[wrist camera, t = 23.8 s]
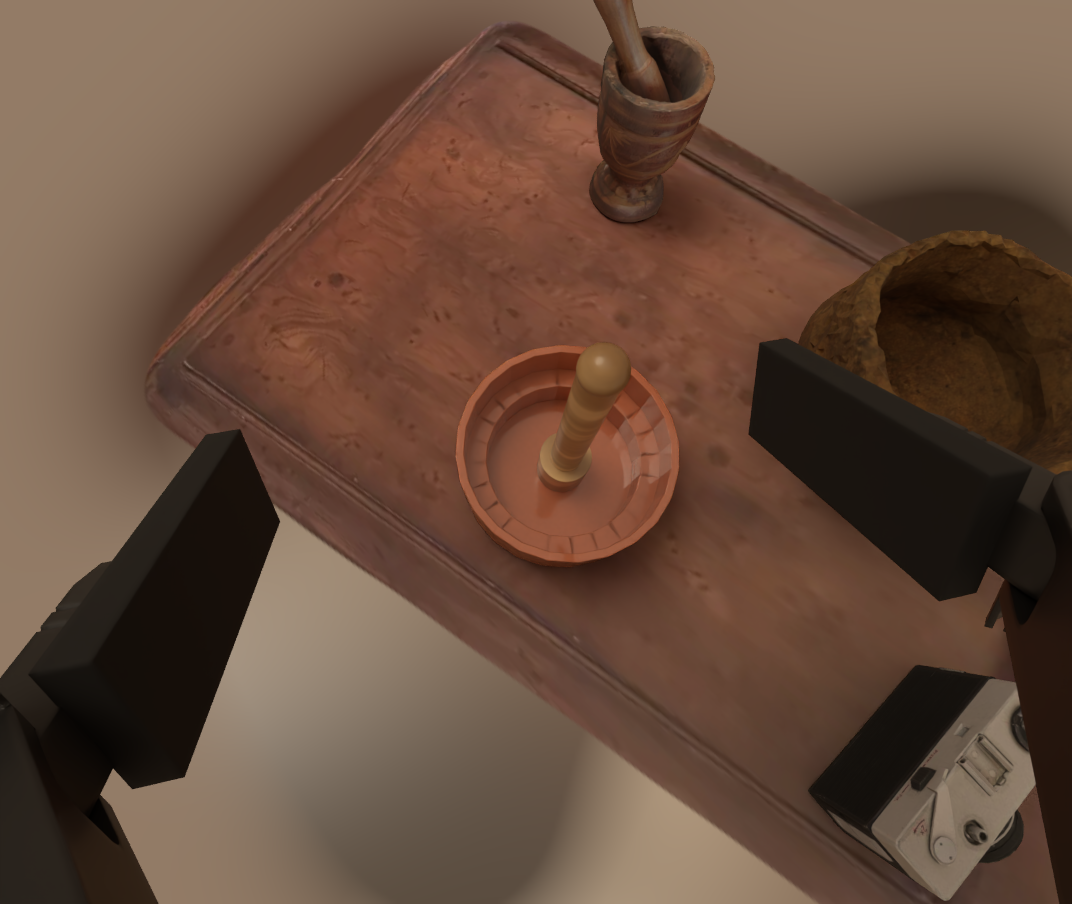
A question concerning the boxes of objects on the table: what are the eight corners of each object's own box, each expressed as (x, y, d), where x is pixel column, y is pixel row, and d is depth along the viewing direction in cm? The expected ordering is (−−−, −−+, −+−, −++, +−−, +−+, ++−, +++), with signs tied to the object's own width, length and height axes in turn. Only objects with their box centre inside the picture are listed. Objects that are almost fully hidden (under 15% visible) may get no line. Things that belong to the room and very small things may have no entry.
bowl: (722, 474, 46) (822, 418, 32) (782, 298, 51) (891, 181, 37) (931, 562, 45) (1131, 545, 31) (970, 374, 50) (1159, 284, 36)
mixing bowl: (552, 610, 42) (561, 612, 36) (423, 460, 45) (409, 435, 38) (692, 479, 46) (724, 459, 39) (565, 347, 48) (575, 306, 42)
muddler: (559, 501, 44) (607, 417, 23) (526, 466, 44) (546, 353, 24) (594, 470, 45) (670, 363, 24) (562, 436, 45) (609, 302, 25)
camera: (873, 887, 38) (992, 975, 29) (789, 768, 40) (874, 813, 31) (1001, 765, 41) (1149, 809, 31) (917, 659, 43) (1031, 671, 34)
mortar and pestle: (548, 220, 52) (572, -2, 33) (553, 148, 54) (580, -99, 35) (665, 232, 52) (759, 19, 33) (666, 160, 55) (754, -78, 35)
